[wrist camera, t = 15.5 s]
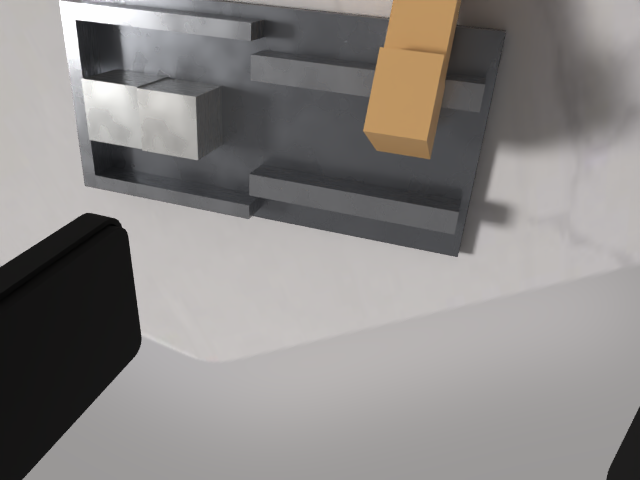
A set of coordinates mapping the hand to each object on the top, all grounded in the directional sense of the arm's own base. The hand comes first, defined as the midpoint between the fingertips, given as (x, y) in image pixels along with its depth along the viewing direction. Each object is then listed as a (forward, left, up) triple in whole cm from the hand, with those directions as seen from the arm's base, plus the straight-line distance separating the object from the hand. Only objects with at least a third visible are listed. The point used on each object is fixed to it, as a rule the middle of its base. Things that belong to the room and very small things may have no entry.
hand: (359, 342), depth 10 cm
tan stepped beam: (+2, -2, -19) cm, 20 cm away
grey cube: (+4, -17, -26) cm, 31 cm away
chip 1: (+4, -21, -26) cm, 33 cm away
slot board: (+4, -12, -26) cm, 29 cm away
